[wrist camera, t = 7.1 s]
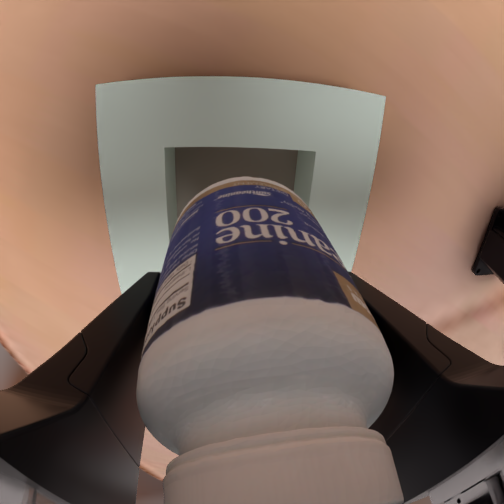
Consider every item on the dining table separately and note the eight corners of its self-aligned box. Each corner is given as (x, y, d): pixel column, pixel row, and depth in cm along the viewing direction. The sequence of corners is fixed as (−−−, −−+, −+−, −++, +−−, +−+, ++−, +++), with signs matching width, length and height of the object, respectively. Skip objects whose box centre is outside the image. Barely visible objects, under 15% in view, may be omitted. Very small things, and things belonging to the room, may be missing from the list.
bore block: (350, 90, 14) (385, 96, 11) (320, 274, 21) (338, 314, 17) (124, 82, 13) (95, 84, 10) (140, 275, 19) (127, 316, 16)
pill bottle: (341, 214, 11) (493, 459, 3) (269, 312, 14) (312, 539, 5) (212, 144, 10) (182, 511, 1) (152, 268, 12) (101, 531, 4)
